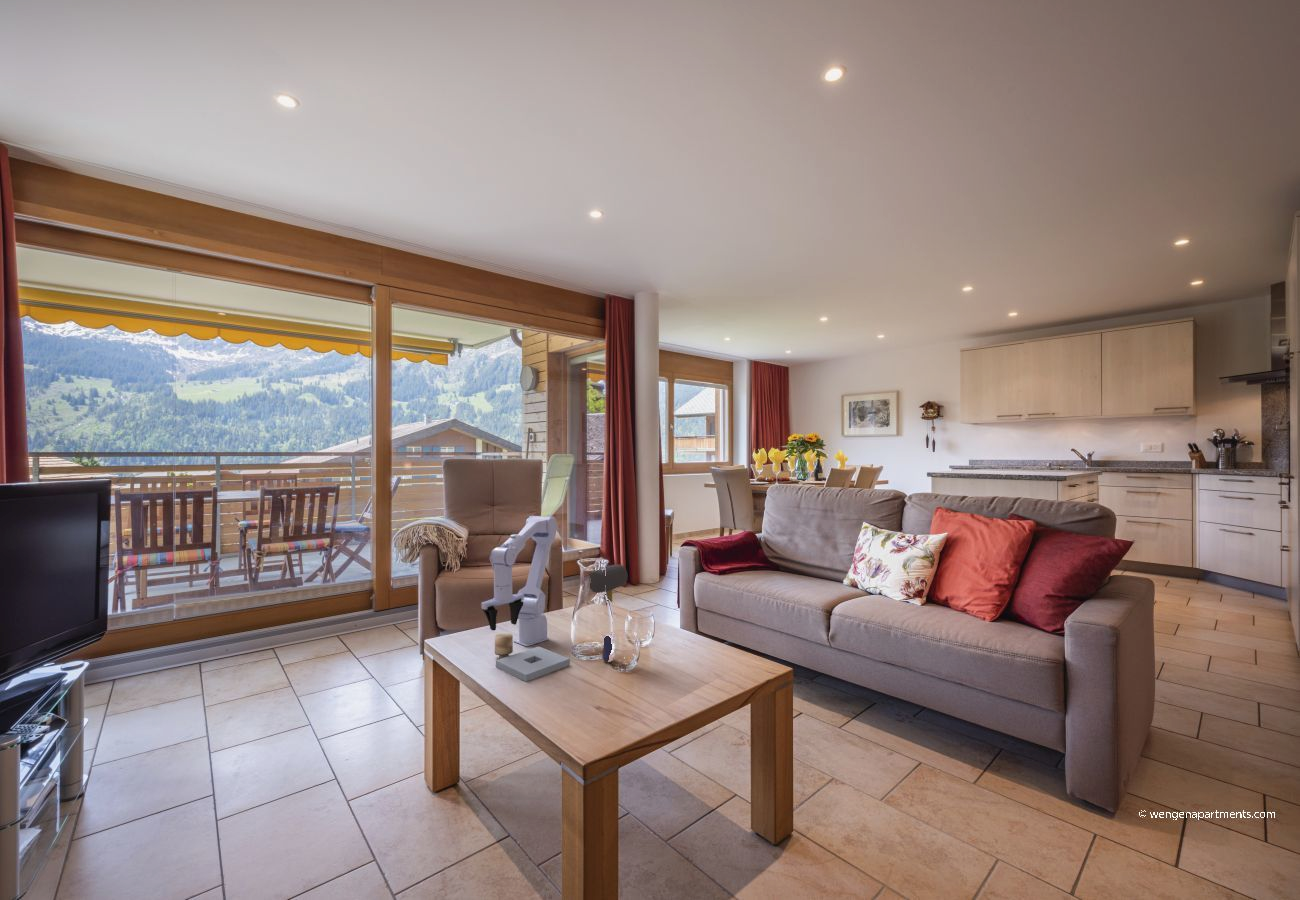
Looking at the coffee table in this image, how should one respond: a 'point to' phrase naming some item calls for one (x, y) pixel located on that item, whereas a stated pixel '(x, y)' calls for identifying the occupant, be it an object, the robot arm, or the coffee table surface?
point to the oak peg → (503, 645)
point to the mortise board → (532, 663)
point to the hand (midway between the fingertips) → (503, 626)
